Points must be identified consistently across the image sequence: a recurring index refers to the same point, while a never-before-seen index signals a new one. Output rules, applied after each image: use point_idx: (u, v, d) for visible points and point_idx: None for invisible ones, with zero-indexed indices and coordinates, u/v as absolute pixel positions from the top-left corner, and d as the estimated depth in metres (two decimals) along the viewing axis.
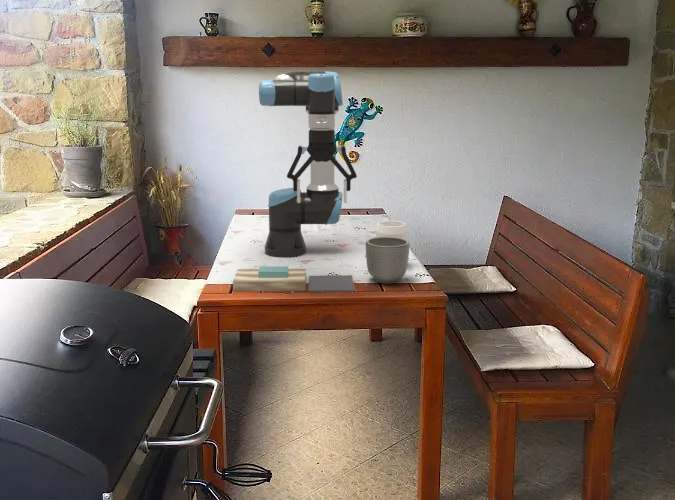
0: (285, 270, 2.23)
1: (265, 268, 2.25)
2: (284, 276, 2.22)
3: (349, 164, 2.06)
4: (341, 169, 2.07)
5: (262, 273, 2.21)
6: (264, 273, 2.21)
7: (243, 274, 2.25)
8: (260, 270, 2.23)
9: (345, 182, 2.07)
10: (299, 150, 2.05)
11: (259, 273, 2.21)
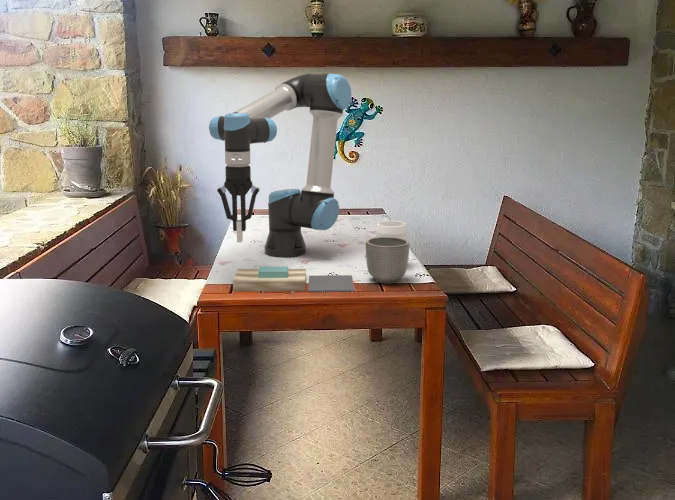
0: (285, 270, 2.23)
1: (265, 268, 2.25)
2: (284, 276, 2.22)
3: (251, 205, 2.18)
4: (243, 208, 2.18)
5: (262, 273, 2.21)
6: (264, 273, 2.21)
7: (243, 274, 2.25)
8: (260, 270, 2.23)
9: (240, 223, 2.19)
10: (219, 192, 2.16)
11: (259, 273, 2.21)
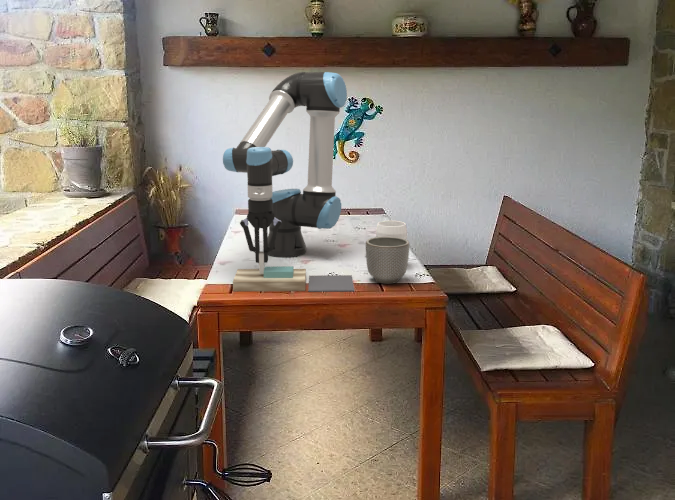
0: (290, 270, 2.23)
1: (270, 268, 2.25)
2: (289, 276, 2.22)
3: (274, 238, 2.21)
4: (265, 241, 2.21)
5: (267, 273, 2.21)
6: (269, 273, 2.21)
7: (243, 274, 2.25)
8: (265, 270, 2.23)
9: (262, 255, 2.22)
10: (242, 225, 2.19)
11: (264, 273, 2.21)
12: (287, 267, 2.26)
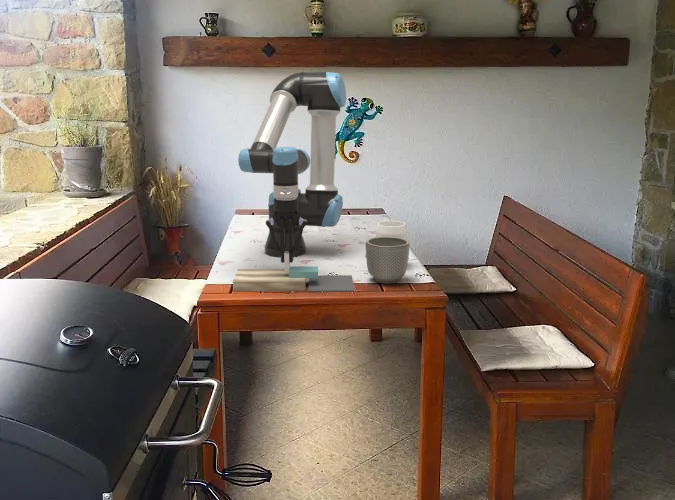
0: (315, 270, 2.23)
1: (295, 268, 2.25)
2: (314, 276, 2.22)
3: (299, 237, 2.21)
4: (290, 240, 2.21)
5: (292, 273, 2.21)
6: (295, 273, 2.21)
7: (243, 274, 2.25)
8: (290, 270, 2.23)
9: (287, 254, 2.22)
10: (268, 224, 2.19)
11: (290, 273, 2.21)
12: (312, 267, 2.26)
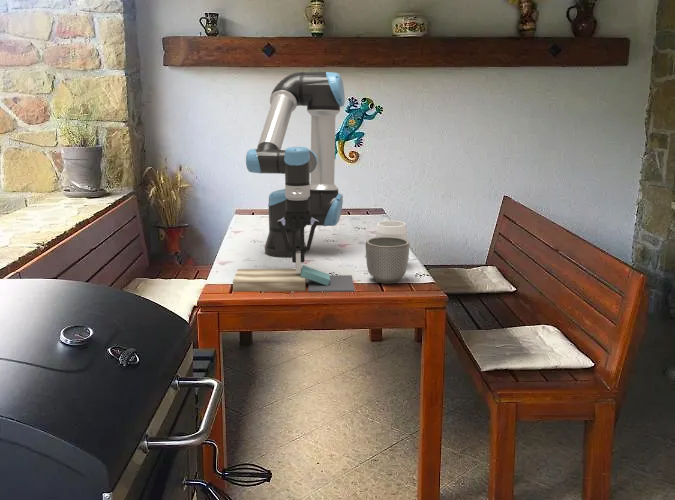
0: (327, 277, 2.24)
1: (308, 269, 2.25)
2: (325, 283, 2.22)
3: (311, 237, 2.21)
4: (302, 240, 2.21)
5: (305, 273, 2.21)
6: (307, 274, 2.22)
7: (243, 274, 2.25)
8: (304, 269, 2.23)
9: (299, 254, 2.22)
10: (280, 224, 2.19)
11: (303, 272, 2.21)
12: (324, 273, 2.27)
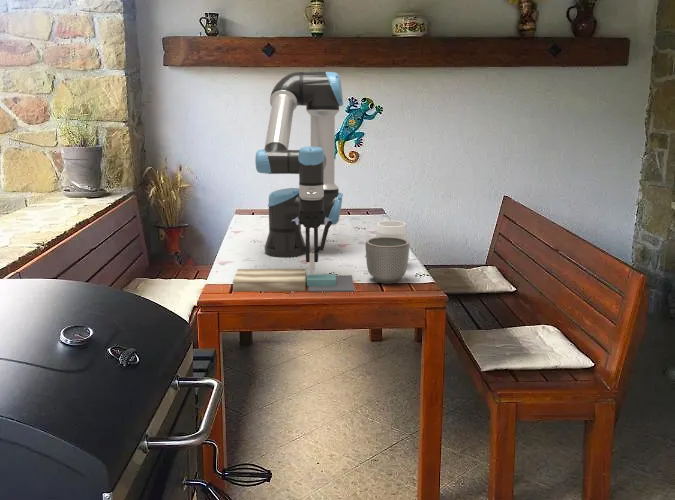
0: (333, 278, 2.24)
1: (313, 276, 2.25)
2: (332, 284, 2.22)
3: (324, 237, 2.21)
4: (316, 240, 2.21)
5: (310, 281, 2.22)
6: (312, 281, 2.22)
7: (243, 274, 2.25)
8: (308, 278, 2.23)
9: (313, 254, 2.22)
10: (293, 224, 2.20)
11: (307, 281, 2.22)
12: (329, 275, 2.27)
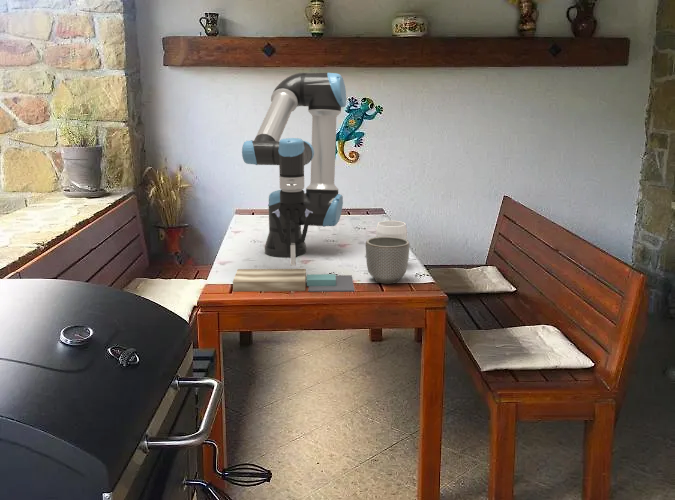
0: (333, 278, 2.24)
1: (313, 276, 2.25)
2: (332, 284, 2.22)
3: (305, 229, 2.20)
4: (297, 232, 2.20)
5: (310, 281, 2.22)
6: (312, 281, 2.22)
7: (243, 274, 2.25)
8: (308, 278, 2.23)
9: (294, 246, 2.21)
10: (274, 216, 2.19)
11: (307, 281, 2.22)
12: (329, 275, 2.27)
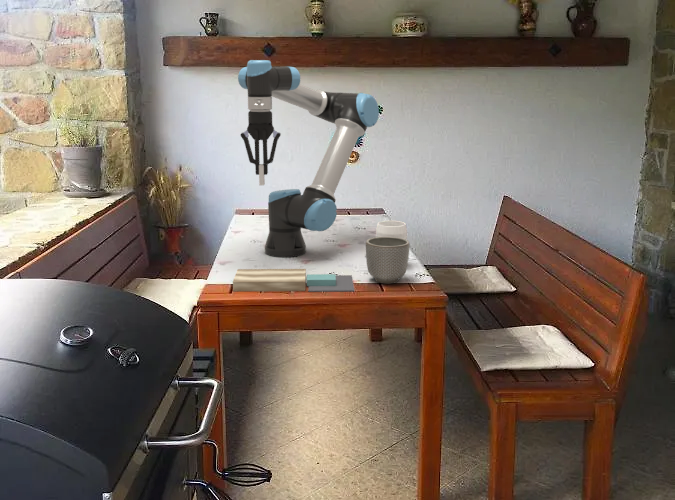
0: (333, 278, 2.24)
1: (313, 276, 2.25)
2: (332, 284, 2.22)
3: (273, 149, 2.28)
4: (265, 152, 2.28)
5: (310, 281, 2.22)
6: (312, 281, 2.22)
7: (243, 274, 2.25)
8: (308, 278, 2.23)
9: (262, 166, 2.29)
10: (243, 136, 2.26)
11: (307, 281, 2.22)
12: (329, 275, 2.27)
